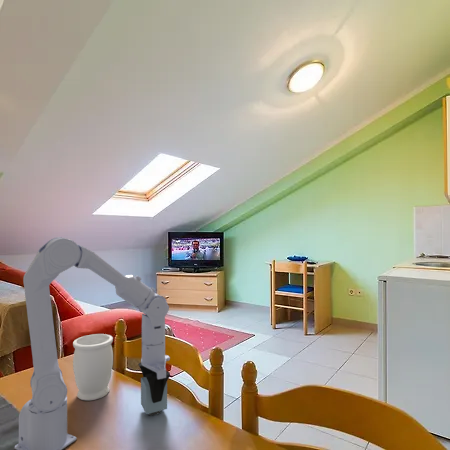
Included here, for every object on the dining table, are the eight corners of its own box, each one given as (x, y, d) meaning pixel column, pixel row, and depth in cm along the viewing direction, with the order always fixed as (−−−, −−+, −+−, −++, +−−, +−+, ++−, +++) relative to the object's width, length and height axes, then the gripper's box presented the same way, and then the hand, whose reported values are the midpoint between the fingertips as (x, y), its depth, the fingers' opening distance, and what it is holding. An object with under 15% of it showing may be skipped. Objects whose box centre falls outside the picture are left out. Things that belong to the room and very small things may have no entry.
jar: (114, 398, 89) (114, 343, 89) (72, 406, 85) (71, 348, 85) (112, 381, 99) (112, 331, 99) (74, 388, 95) (74, 335, 95)
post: (150, 415, 81) (149, 395, 81) (147, 410, 83) (147, 390, 83) (160, 413, 82) (160, 393, 82) (157, 408, 84) (157, 388, 84)
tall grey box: (146, 414, 79) (146, 386, 79) (141, 404, 84) (140, 377, 84) (167, 408, 82) (167, 381, 82) (161, 399, 86) (160, 373, 86)
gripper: (178, 348, 78) (178, 405, 78) (160, 331, 91) (161, 380, 91) (148, 353, 75) (149, 413, 75) (134, 335, 88) (135, 386, 88)
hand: (153, 396), depth 83 cm, fingers closed on tall grey box, 5 cm apart
